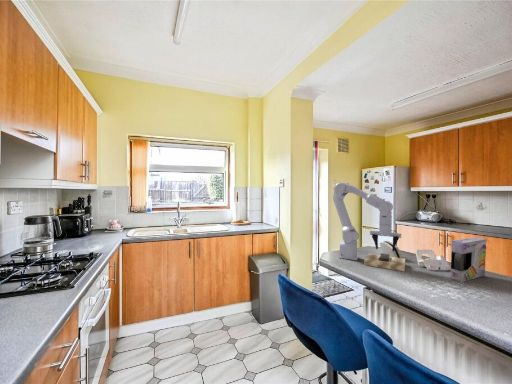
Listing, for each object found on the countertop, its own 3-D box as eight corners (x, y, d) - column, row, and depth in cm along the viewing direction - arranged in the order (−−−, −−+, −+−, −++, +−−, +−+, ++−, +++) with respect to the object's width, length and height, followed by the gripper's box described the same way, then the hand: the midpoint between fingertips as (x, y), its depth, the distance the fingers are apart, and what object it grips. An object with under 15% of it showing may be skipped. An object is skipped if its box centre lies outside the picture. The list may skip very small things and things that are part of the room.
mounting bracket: (443, 271, 124) (438, 250, 128) (452, 270, 118) (446, 247, 122) (419, 270, 125) (414, 249, 129) (427, 269, 119) (421, 247, 123)
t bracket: (379, 266, 126) (379, 255, 126) (381, 262, 132) (381, 251, 132) (388, 267, 124) (388, 256, 124) (389, 264, 130) (389, 253, 129)
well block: (364, 264, 128) (364, 259, 128) (368, 258, 139) (368, 253, 138) (404, 271, 118) (404, 265, 118) (405, 264, 129) (405, 258, 129)
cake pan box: (460, 283, 104) (461, 242, 103) (447, 278, 108) (448, 239, 108) (486, 277, 111) (487, 238, 111) (473, 273, 116) (474, 236, 115)
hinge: (405, 260, 136) (399, 243, 136) (397, 263, 136) (391, 246, 136) (390, 252, 152) (384, 237, 152) (382, 255, 152) (377, 240, 152)
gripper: (369, 223, 128) (368, 249, 129) (401, 226, 121) (400, 253, 121) (371, 222, 134) (370, 246, 135) (401, 224, 126) (401, 250, 127)
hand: (385, 249), depth 128 cm, fingers open, 7 cm apart
